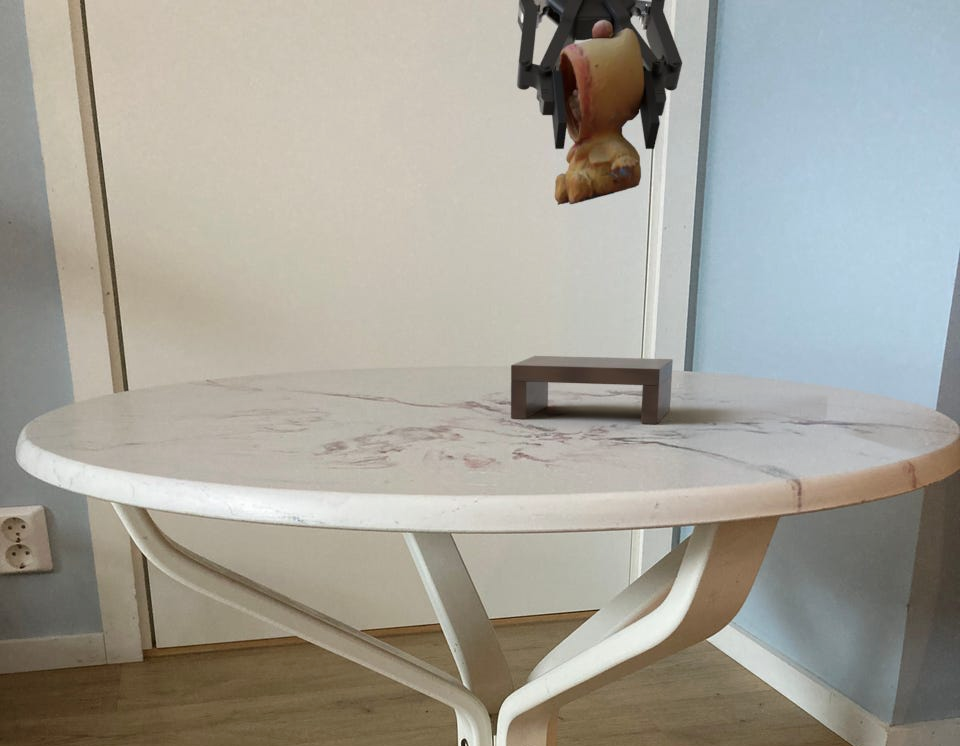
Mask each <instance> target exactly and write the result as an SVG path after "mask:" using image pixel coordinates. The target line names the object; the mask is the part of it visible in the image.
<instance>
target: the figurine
mask: <svg viewBox="0 0 960 746" xmlns="http://www.w3.org/2000/svg"><path fill="white" fill-rule="evenodd" d="M612 35H613V28H612V25H611V23H610V22H608V21H606V20H601V21H598V22H597V23H596V24H595V25H594V27H593V29H592V36H593V39H588V40H584V41H582V42H578V43H574V44H571V45H568V46H566V47H565V48H564V49H563V50H562V51H561V54H560V62H559V71H562V79H563V89H564V98H565V107H566V116H567V129H566V131H567V134H568V135H569V138H570V139H571V140H572V142H573V145H572V146H571V147H570V148H569V150H568V152H567V154H566V158H565V160H566V162H567V164H568V167H567V170H566V171H565V173H560V174H558V175H557V176H556V179H555V186H554V198H555V201H556V202H557V206H559V205H564V204H568V203H569V205H574V204H579V203H582V202H586V201H590V200H594V199H597V198H600V197H605V196H609V195H613V194H616V193H619V192H623V191H627V190H629V189H633V188H637V186H639V185H640V184H641V183H640V182H641V179H642V167H641V155H640V153H639V152H638V151H637V149H636V147H635V146H634V145H633V144H632V143H631V142H630V141H629V140H628V139H626V137H625V136H624V135H623V127H624V126H625V125H626V124H627V123H628V122H629V121H633V120H634V119H635V118H636V117H638V115H639V114H640V107H641V104H642V100H643V95H644V71H643V63H642V55H641V49H640V45H639V42H638V39H637V36H636V35H635V33H634V32H633V30H631V29H628V28H626V29H624V30H622V31H621V32H619V33H618V34H617V35H616V36H615V37H614V38H612Z"/></svg>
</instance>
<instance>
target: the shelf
mask: <svg viewBox="0 0 960 746" xmlns="http://www.w3.org/2000/svg"><path fill="white" fill-rule="evenodd" d="M673 362H674V361H673V358H639V357H598V356H597V357H596V356H595V357H594V356H557V355H533V356H531V357H528V358H526V359H523V360H521V361H518V362H516V363H514V364H511V365H510V419H514V420H515V419H516V420H527V419H529V418H530V417H532V416H533V415H535V414H537V413H539V412H540V411H542V410H543V409H545V408H547V407H548V406H549V383H551V384H552V383H553V384H555V383H557V384H589V385H617V386H618V385H619V386H620V385H621V386H623V385H624V386H642V393H641V416H640V423H641V424H643V425H657V424H659V423H660V421H661V420H663V418H664V417H665V416H666V415H667V414H668V413H669V412H670V411H671V399H672V381H673V380H672V379H673V378H672V377H673V376H672V375H673Z"/></svg>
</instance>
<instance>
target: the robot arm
mask: <svg viewBox="0 0 960 746" xmlns="http://www.w3.org/2000/svg"><path fill="white" fill-rule="evenodd" d="M665 2H666V0H651V1H648V0H518V9H517V10H518V11H517V24H518V26H519V28H520V31H521V37H520V47H519V54H518V55H519V56H518V65H517V76H516V77H517V79H516V86H517V88H518V89H520V90H522V91H526V90H529V89H530V88H533V89H535V90H536V100H537V101H538V104H539V106H538V107H539V113H540V114H541V115H542V116H551V120H552V130H553V138H554V148H555V150H564V149H565V143H566V136H567V116H566V107H565V98H564V89H563V79H562V71H559V62H560V54H561V51H562V50H563V49H564V48H565V47H566V46H568V45H571V44H576V41H589V40H592V39H593V36H592V29H593V27H594V25H595V24H596V23H597V22H598V21H601V20H606V21H608V22H610V23H611V25H612V28H613V35H612V38H614V37H615V36H616V35H617V34H618V33H619V32H621V31H622V30H624V29H626V28H628V29H631V30H633V32H634V33H635V35H636V36H637V39H638V42H639V45H640V49H641V55H642V63H643V71H644V95H643V100H642V104H641V107H640V110H639V114H640V120H641V126H642V133H643V140H644V146H645V150H655V147H656V143H657V138H658V134H659V128H660V125H661V122H660V117H662V116H663V115H664V112H665V107H666V103H667V94H666V93H667V92H666V90H667V91H670V92H671V91H675V90H677V88H678V85H679V79H680V76H681V71H682V66H683V61H682V57H681V55H680V52H679V50H678V47H677V44H676V42H675V39H674V36H673V33H672V31H671V28H670V25H669V23H668V20H667V17H666V15H665V12H664V8H665ZM544 16H546V17H547V19H548V20H550V21H551V22H552V23H553V24H554V25H556V29H555V31H554V34H553V36H552V38H551V40H550V42H549V44H548V47H547V48H546V50H545V53H544V55H543V57H542V59H541V62H540V64H536V63H533V62H534V53H535V44H536V33H537V29H538V28H539V24H541V23H542V22H543V17H544ZM633 17H637V18H638V20H639V23H640V24H641V27H640V28H641V30H643V31H645V36H646V40H647V42H646V41H645V39H644V38H643V36H642V35H641V34H640V33H639V31H638V29H636V27H635V26H634V24H633V23H632V20H631V19H632V18H633Z"/></svg>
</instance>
